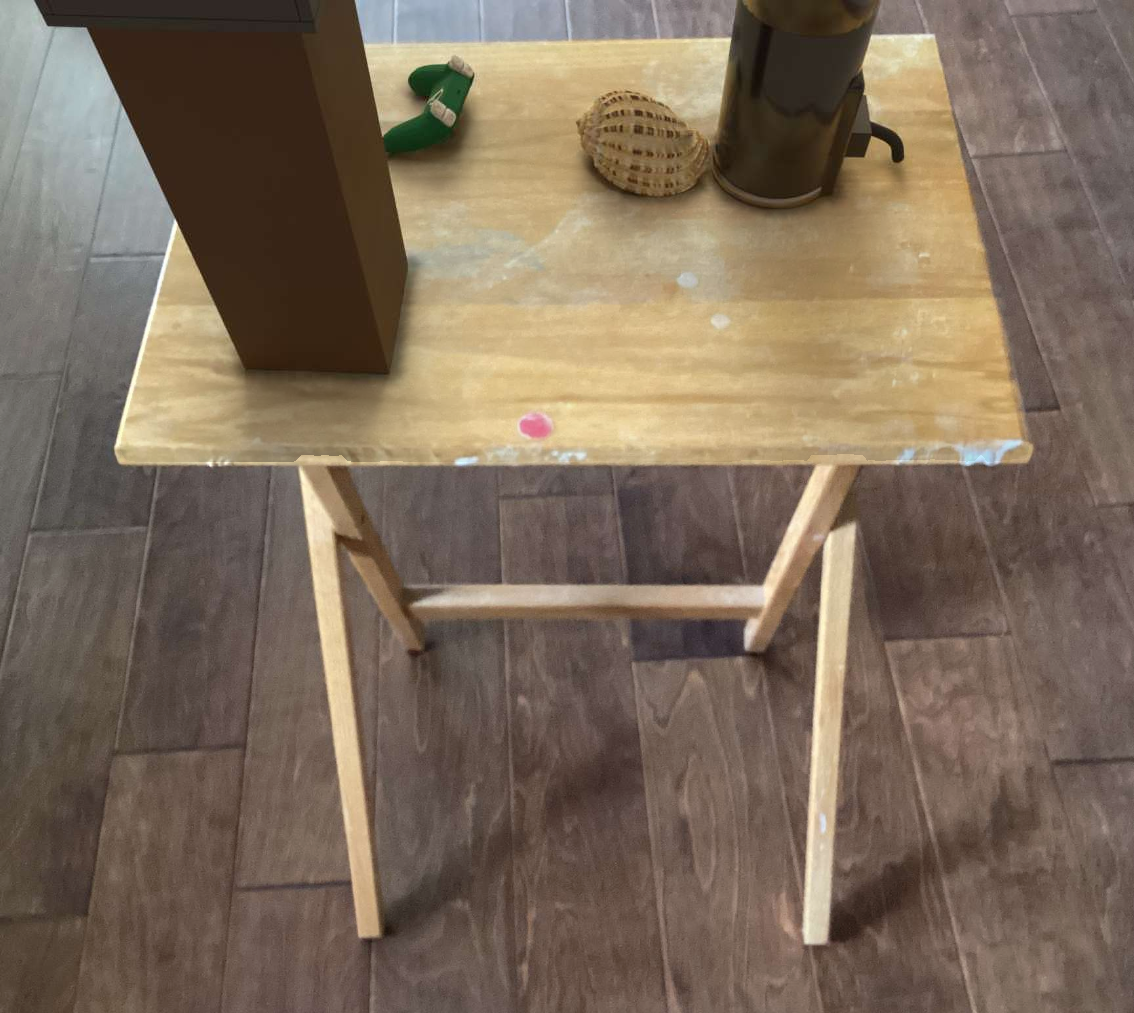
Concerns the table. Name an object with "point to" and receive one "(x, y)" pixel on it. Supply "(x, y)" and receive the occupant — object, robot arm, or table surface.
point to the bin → (265, 166)
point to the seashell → (642, 144)
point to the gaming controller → (433, 106)
